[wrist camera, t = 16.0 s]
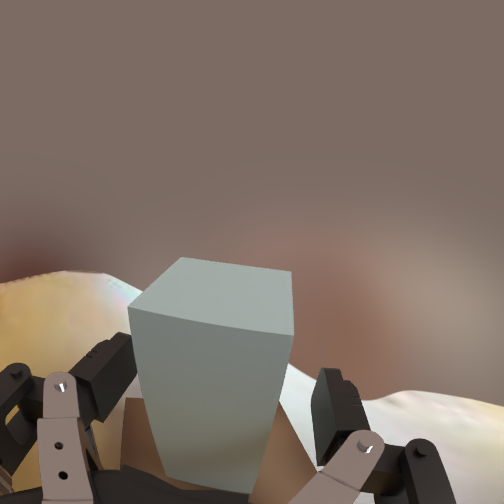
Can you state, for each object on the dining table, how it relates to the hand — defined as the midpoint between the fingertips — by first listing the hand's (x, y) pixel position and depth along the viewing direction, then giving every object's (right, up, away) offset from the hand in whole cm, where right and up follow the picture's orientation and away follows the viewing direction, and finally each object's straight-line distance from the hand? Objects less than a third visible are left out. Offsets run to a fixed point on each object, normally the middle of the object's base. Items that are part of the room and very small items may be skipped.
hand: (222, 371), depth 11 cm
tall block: (-1, -8, +3) cm, 8 cm away
